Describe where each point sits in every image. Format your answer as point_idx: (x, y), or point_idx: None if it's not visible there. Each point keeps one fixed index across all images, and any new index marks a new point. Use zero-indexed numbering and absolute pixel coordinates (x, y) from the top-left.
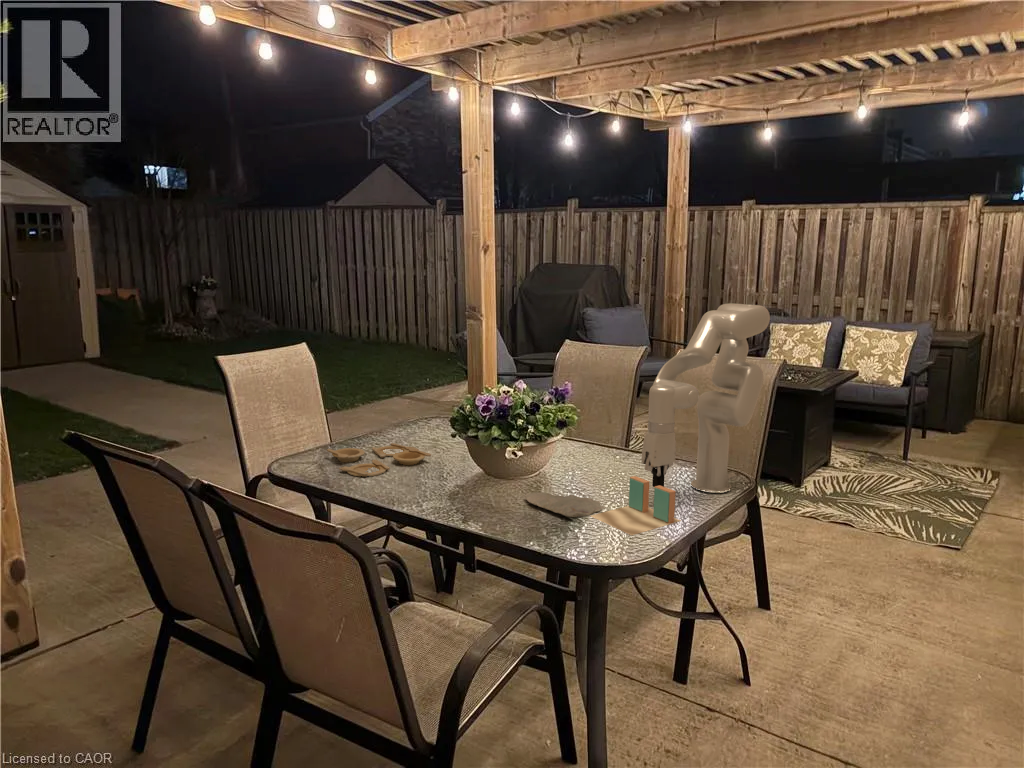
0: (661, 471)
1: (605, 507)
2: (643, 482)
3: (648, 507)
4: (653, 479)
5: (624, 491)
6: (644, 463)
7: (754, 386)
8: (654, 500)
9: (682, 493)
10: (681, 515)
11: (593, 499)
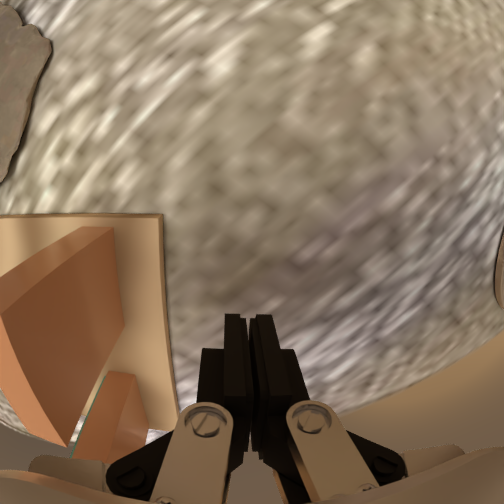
0: (281, 465)
1: (4, 175)
2: (25, 426)
3: (158, 295)
4: (198, 382)
5: (288, 7)
6: (34, 486)
7: None
8: (82, 428)
9: (465, 223)
10: None
11: (31, 58)
